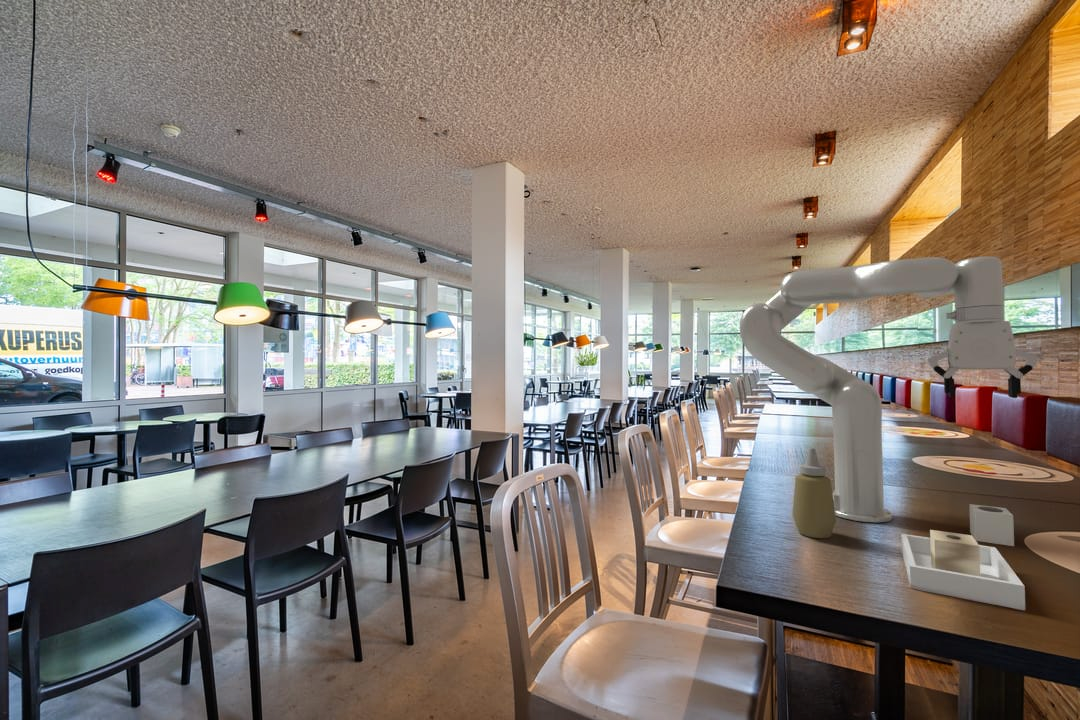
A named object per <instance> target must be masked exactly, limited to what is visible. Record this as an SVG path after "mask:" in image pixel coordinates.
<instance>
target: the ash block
mask: <svg viewBox="0 0 1080 720" xmlns="http://www.w3.org/2000/svg"><path fill="white" fill-rule="evenodd" d="M929 535H930V537H929V538H930V546H931V565H932V568H934V569H939V570H945V571H951V572H957V573H962V574H968V575H974V576H980V547H979V545H980V544H979V543H978V541H976V540H975V539H974V537H973V536H972V534H963V533H959V532H958V533H957V532H949V531H942V530H935V529H930V530H929Z"/></svg>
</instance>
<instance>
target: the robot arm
mask: <svg viewBox="0 0 1080 720" xmlns="http://www.w3.org/2000/svg"><path fill="white" fill-rule="evenodd" d="M1003 286H1004V285H1003V264H1002V260H1001V259H1000V258H999V257H997V256H991V255H990V256H985V255H984V256H978V257H977V256H975V257H970V258H965V259H961V260H959V261H957V262H956V263H954V262H953V261H951V260H949V259H947V258H944V257H939V256H938V257H937V256H935V257H934V256H931V257H918V258H917V257H916V258H907V259H906V258H904V259H895V260H886V261H881V262H880V261H879V262H874V263H866V264H859V265H852V266H841V267H840V266H839V267H831V268H830V267H828V268H818V269H816V268H815V269H805V270H797V271H792V272H790V273H788V274H787V275H785V276H784V277H783V278H782V280H781V282H780V286H779V291H778V292H776V293H775V294H774V295H773V296H772V297H771V298H770V299H768V300H766V302H765V303H764V302H763V303H762V302H758V303H754V304H751V305H749V306H748V307H747V308H745V310H744V311H743V312H742V315H741V317H740V322H739V334H740V339H741V340H742V341H741V342H742V344H743V346H744V347H745V349H746V350H747V351H748V352H749V354H750V355H751V356H752V357H753V358H754V359H756V361H758V362H759V363H761V364H763V365H764V366H766V367H767V368H769V370H772V371H773V372H775V373H776V374H777V375H779V376H781V377H782V378H784V379H785V380H787V381H789V382H790V383H791V384H792V385H794V386H796V387H797V388H798V389H799V390H801V391H803V392H805V393H808V394H812V395H814V396H815V397H816V398H818V399H820V400H821V401H824V402H825V403H827V404H829V405H830V406H831V410H832V431H833V433H832V434H833V463H834V489H833V492H832V494H833V501H834V508H835V515H836V517H839V518H843V519H846V520H851V521H857V522H863V523H887V522H890V521H892V520H893V513H892V512H891V511H890V510H888V509H886V508H885V499H884V497H885V496H884V466H883V465H884V462H883V459H884V458H883V437H882V434H883V433H882V431H883V430H882V429H883V427H882V423H883V422H882V420H883V417H882V416H883V406H882V405H883V403H882V398H881V395H880V393H879V392H878V390H877V389H876V387H874V385H872V384H870V383H869V382H867V381H865V380H864V379H862V378H860V377H858V376H856V375H855V374H853V373H851V372H850V371H849V370H847V369H844V368H843V367H841V366H839V365H837V364H836V363H834V362H833V361H831V360H829V359H827V358H825V357H822V356H819V355H816V354H813V353H811V352H810V351H808V350H806V349H804V348H802V347H800V346H799V345H797V344H796V343H794V342H793V341H792V340H790V339H788V338H786V337H784V336H783V335H782V334H781V333H779V332H781V331H782V330H784V329H785V328H786V327H787V326H788V325H789V324H791V323H792V322H793V321H795V319H797V318H798V317H799V316H801V314H803V313H804V312H805V311H807V309H808V308H809V307H810V306H812V305H816V304H819V305H820V304H836V303H841V304H842V303H856V302H863V301H865V300H869V299H872V298H875V297H883V296H891V295H904V294H914V295H915V296H918V297H920V298H926V299H927V298H928V299H930V298H936V297H942V296H948V295H953V294H954V297H953V298H954V310H953V311H951V312H946V315H945V316H946V317H945V318H946V320H949V319H950V320H953V321H954V323H952V324H951V325H950V330H949V335H948V336H949V337H948V346H947V348H948V349H947V350H944V351H943V352H940V353H938V354H935V355H933V356H931V357H928V358H927V359H926V361H927V363H928V364H929V366H930V367H931V368H932V370H933V371H934V372H935V373H937V375H939V376H940V377H942V378H943V386H944V388H943V389H944V390H943V391H944V394H947V396H948V397H950V398H953V397H955V396H956V394H955V393H956V392H955V391H956V390H955V378H953V376H954V374H955V373H957V372H958V371H959V370H967V371H968V370H1003V371H1004V372H1005V373H1007V374H1008V375H1009V377H1008V379H1007V390H1008V391H1007V392H1008V393H1007V395H1008V398H1012V399H1017V398H1018V395H1021V393H1022V386H1021V385H1022V384H1021V383H1022V382H1021V379H1022V378H1023V377H1024V376H1025V375H1026V374H1028V373H1030V372H1031V371H1032V370H1033V368H1034V367H1035V366H1036V364H1037V363H1038V361H1039V360H1040V358H1039V356H1038V355H1035V354H1032V353H1028V352H1026V351H1023V350H1021V349H1018V348H1016V347H1015V346H1016V344H1015V339H1014V338H1015V337H1014V332H1013V328H1012V325H1011V322H1010V321H1009V320H1004V316H1005V315H1004V293H1003V292H1004V291H1003V290H1004V289H1003ZM1017 357H1018V358H1019V359H1023V360H1025V363H1024V364H1023V365H1022V366H1021V367H1019V368H1018V369H1017V367H1016V365H1017V364H1016V363H1017ZM945 358H947V364H948V368H947V369H946V370H945V369H944V368H942V367H941V366H940V365H939V363H938V362H939V361H941V360H943V359H945Z"/></svg>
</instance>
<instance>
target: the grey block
mask: <svg viewBox="0 0 1080 720" xmlns="http://www.w3.org/2000/svg"><path fill="white" fill-rule="evenodd" d="M968 506H969V533H970V535H972V536H973V537H974V539H975V540H976V542H982V543H989V544H995V545H1004V546H1009V547H1010V546H1011V547H1015V536H1014V535H1015V534H1014V533H1015V531H1014V526H1015V525H1014V514H1012V513H1011V512H1010V511H1009V510H1008V509H1007V508H1006V507H1001V506H1000V507H998V506H989V505H981V504H973V503H972V504H970V503H969V505H968Z"/></svg>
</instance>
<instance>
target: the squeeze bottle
mask: <svg viewBox="0 0 1080 720" xmlns="http://www.w3.org/2000/svg"><path fill="white" fill-rule="evenodd" d="M799 467H800V469H799V472H800V473H799V474H797V475H795V480H794V482H795V483H794V491H793V492H794V493H793V501H792V502H793V504H792V505H793V506H792V518H793V521H794V523H795V527H796V529H797V532H798V533H799V534H801V535H803V536H806V537H808V538H809V537H810V538H813V539H814V538H815V539H828V538H831V536H832V534H833V531H834V528H835V525H836V522H837V516H836V515H835V508H834V501H833V494H832V493H833V488H832V487H833V486H832V481H831V479H830V478H829V477H828V476H826V466H824V465H821V464H820V463H819V459H818V454H817V450H816V448H812V447H809V448H808V451H807V456H806V460H805V463H803V464H800V465H799Z"/></svg>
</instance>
